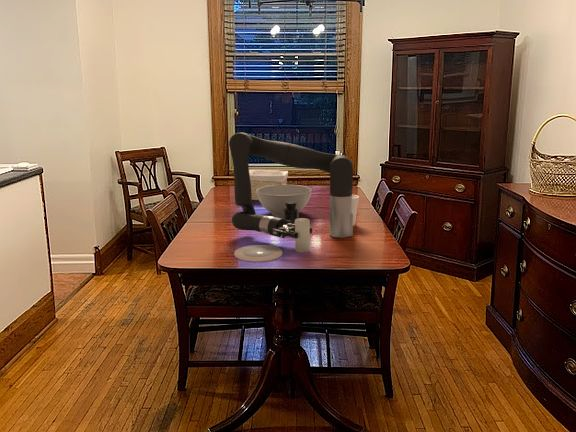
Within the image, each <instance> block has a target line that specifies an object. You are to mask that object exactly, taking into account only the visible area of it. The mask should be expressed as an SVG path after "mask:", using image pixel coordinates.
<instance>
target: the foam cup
mask: <svg viewBox="0 0 576 432" xmlns="http://www.w3.org/2000/svg"><path fill="white" fill-rule="evenodd" d="M359 203H360V196H359V195H356V194H352V214H353V227H354V226H355V225H356V220H357V213H358V206H359Z"/></svg>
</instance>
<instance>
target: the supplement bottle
mask: <svg viewBox="0 0 576 432" xmlns="http://www.w3.org/2000/svg"><path fill="white" fill-rule="evenodd" d="M285 207H286V208H284V209H283V217H282V218H283V219H285V220H286V221H287V223H292V224H294V222H295V219H298V218H299V212H300V211H298V209H297V208H296V202H294V201H287V202H285Z"/></svg>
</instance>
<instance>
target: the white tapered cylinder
mask: <svg viewBox="0 0 576 432" xmlns="http://www.w3.org/2000/svg"><path fill="white" fill-rule="evenodd" d="M310 222H311V221H310V219H309V218H305V217H300V218H299V217H298V219H295V232H297V233H298V238H294V250H295V252H297V253H308V252H310V251H311V248H310V247H311V244H310V243H311V238H310V236H311V233H310V227H311V225H310V224H311V223H310Z"/></svg>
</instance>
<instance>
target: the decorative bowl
mask: <svg viewBox="0 0 576 432" xmlns="http://www.w3.org/2000/svg"><path fill="white" fill-rule="evenodd" d="M312 192H313V189H312V188H311V187H308V186H306V185H299V184H287V185H270V186H264V187H260V188H258V189H257V190H256V194H257V197H258V199H259V200H258V201H259V202H260V203H259V204H260V205H262V206H263V208H265V210H267V212H269V213H271V216H273V217H278V218H283V209H284V208H286V207H285V202H287V201H294V202H296V208H297V209H298V212H300V211H301V210H303V209H304V207H306V206H307V203H309V200H310V198H311V195H312Z"/></svg>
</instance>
